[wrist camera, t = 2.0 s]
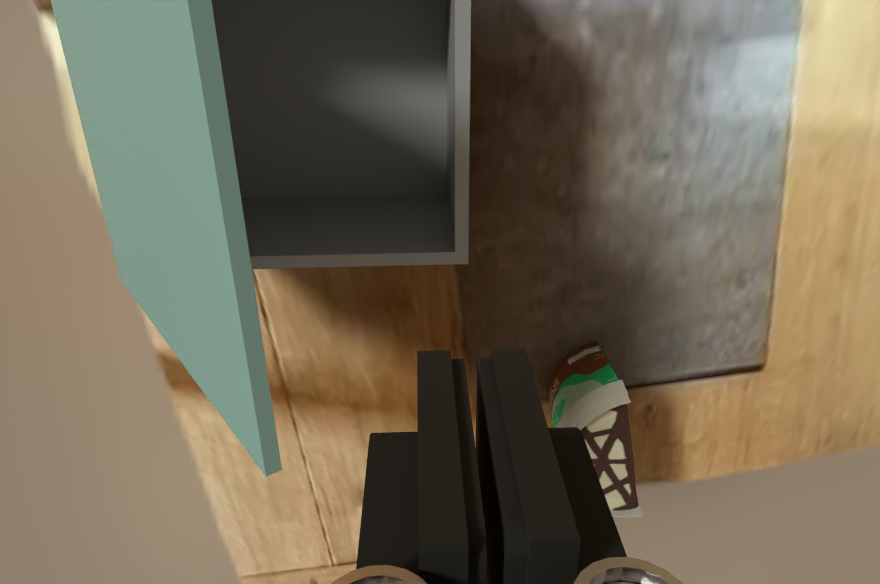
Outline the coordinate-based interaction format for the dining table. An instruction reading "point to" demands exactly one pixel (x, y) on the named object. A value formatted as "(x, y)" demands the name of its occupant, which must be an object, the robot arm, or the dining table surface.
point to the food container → (598, 421)
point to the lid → (174, 192)
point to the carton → (349, 129)
